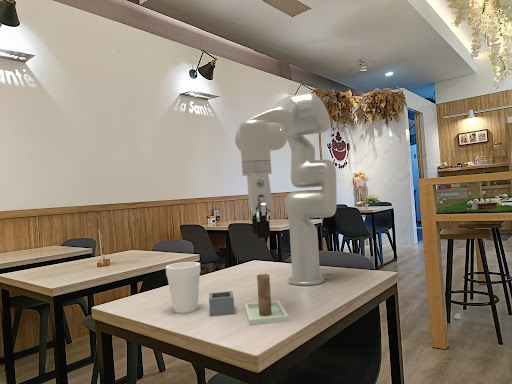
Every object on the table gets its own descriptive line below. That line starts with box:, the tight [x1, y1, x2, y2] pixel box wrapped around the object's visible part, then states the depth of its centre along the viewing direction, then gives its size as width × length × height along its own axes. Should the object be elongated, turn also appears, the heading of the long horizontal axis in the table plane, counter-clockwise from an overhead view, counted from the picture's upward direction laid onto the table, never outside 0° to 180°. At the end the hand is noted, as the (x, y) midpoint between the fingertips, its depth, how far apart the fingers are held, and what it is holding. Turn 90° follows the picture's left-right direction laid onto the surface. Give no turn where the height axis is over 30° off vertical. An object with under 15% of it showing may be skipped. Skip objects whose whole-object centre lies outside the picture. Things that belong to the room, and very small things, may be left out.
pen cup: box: [208, 290, 235, 317], centre depth 103 cm, size 6×6×5 cm
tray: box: [244, 300, 290, 326], centre depth 99 cm, size 14×10×2 cm
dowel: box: [256, 273, 272, 316], centre depth 99 cm, size 3×3×10 cm
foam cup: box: [165, 261, 201, 314], centre depth 107 cm, size 10×9×13 cm
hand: (261, 235), depth 99 cm, fingers open, 9 cm apart
